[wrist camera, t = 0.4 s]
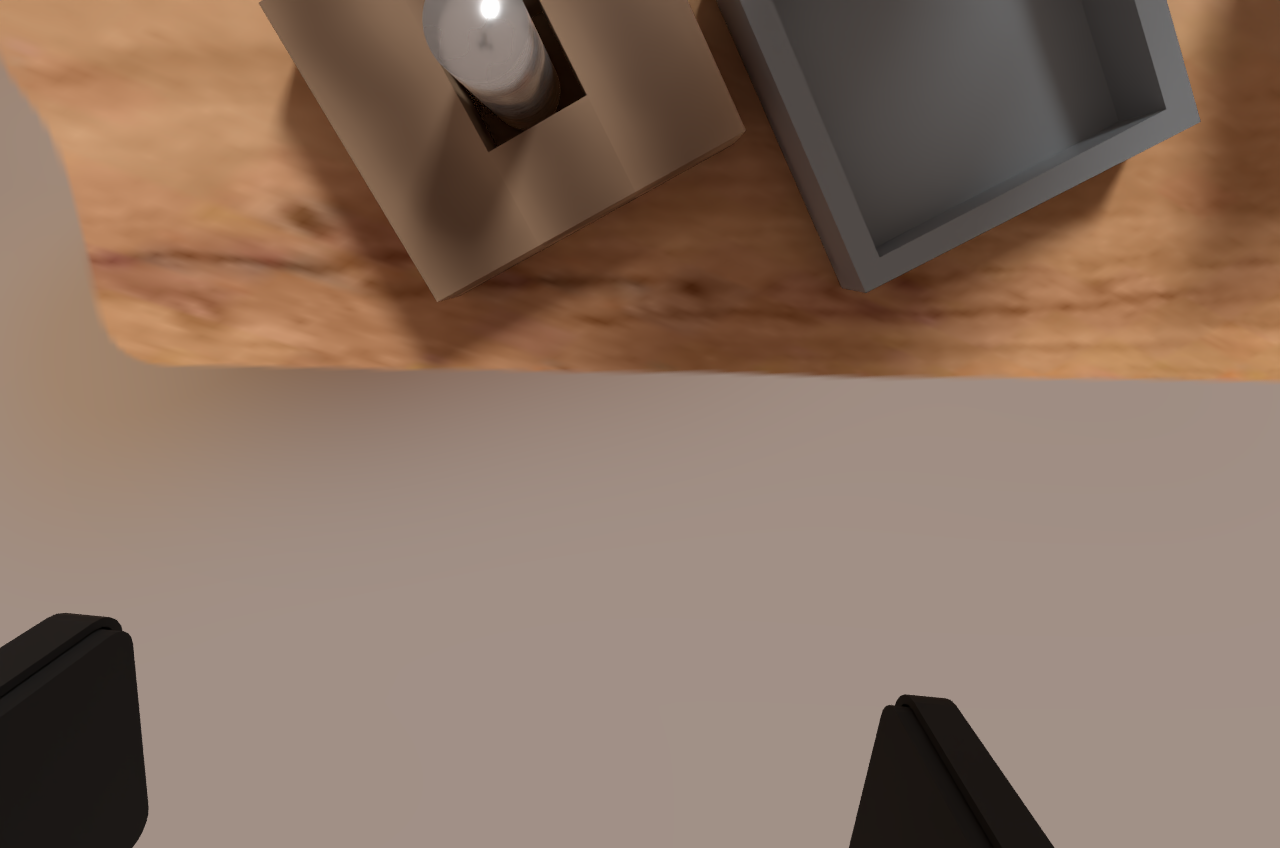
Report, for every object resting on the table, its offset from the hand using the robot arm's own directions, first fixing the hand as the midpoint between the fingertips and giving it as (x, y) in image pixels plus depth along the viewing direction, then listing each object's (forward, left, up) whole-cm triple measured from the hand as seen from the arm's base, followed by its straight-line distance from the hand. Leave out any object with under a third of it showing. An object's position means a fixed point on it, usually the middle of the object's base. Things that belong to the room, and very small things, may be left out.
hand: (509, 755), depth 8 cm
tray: (-21, -6, -29) cm, 36 cm away
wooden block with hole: (-3, -14, -29) cm, 32 cm away
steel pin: (-3, -14, -29) cm, 32 cm away
